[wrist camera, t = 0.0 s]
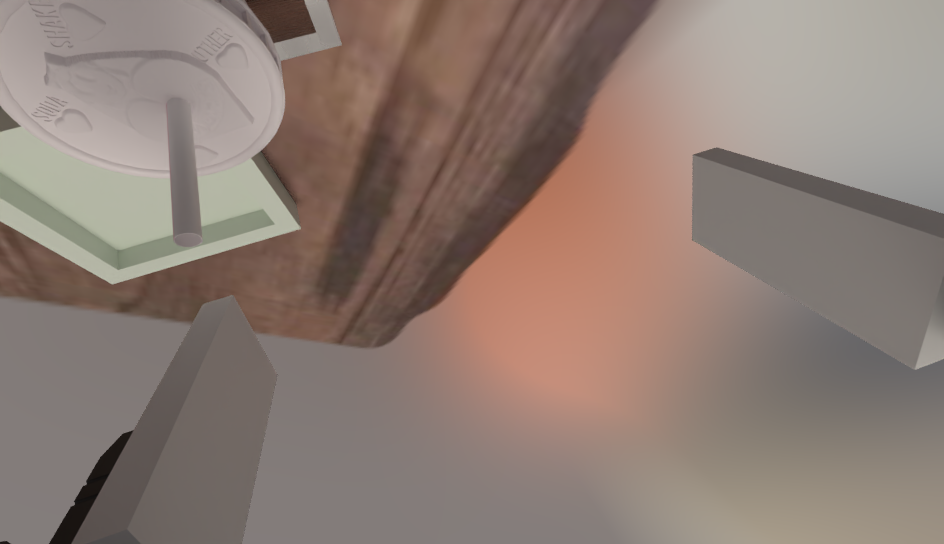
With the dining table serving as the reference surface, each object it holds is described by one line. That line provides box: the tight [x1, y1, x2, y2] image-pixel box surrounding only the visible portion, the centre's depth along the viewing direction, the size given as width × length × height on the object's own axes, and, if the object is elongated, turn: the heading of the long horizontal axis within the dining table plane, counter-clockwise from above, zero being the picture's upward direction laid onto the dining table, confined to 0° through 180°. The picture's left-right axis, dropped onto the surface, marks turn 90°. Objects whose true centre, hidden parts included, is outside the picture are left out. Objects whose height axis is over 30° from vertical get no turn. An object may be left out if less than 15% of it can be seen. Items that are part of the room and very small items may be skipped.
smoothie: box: [0, 0, 285, 247], centre depth 13 cm, size 6×6×14 cm
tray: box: [0, 106, 301, 284], centre depth 25 cm, size 12×12×2 cm
